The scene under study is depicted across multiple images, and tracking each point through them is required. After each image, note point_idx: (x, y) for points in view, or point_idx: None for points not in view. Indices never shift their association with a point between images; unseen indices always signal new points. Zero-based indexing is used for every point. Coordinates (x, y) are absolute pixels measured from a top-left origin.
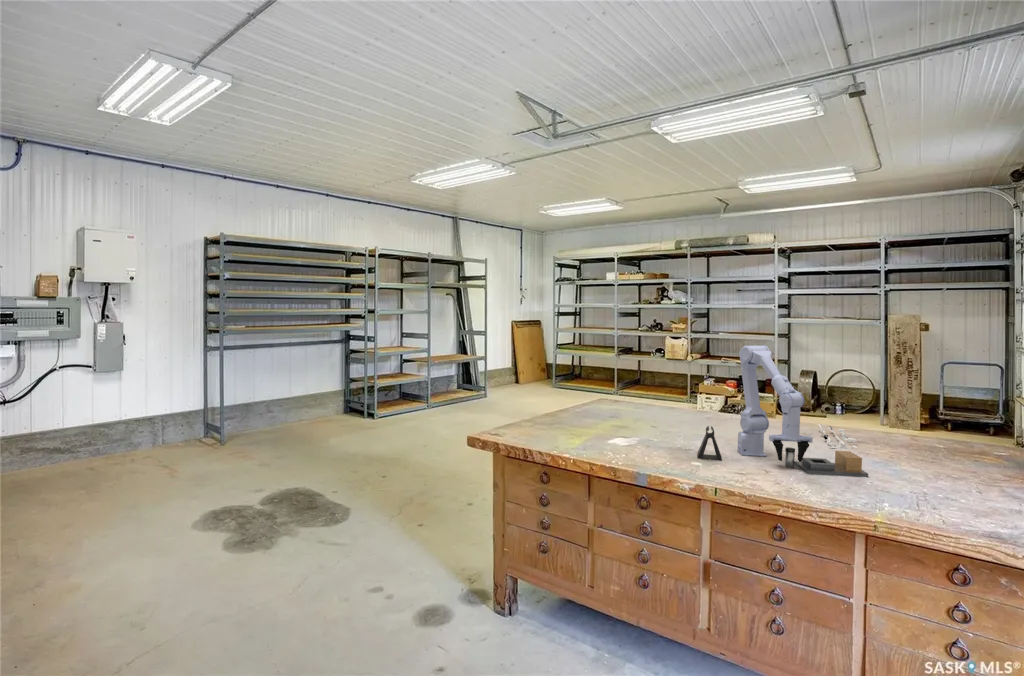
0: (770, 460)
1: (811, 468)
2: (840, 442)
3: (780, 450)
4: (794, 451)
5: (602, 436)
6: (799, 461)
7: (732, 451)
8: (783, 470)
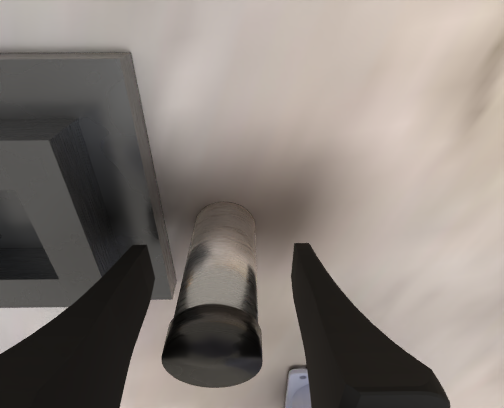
0: None
1: (65, 122)
2: None
3: (340, 314)
4: (177, 320)
5: None
6: None
7: None
8: (308, 134)
